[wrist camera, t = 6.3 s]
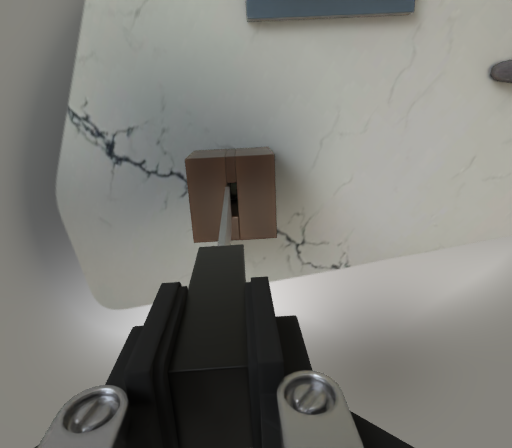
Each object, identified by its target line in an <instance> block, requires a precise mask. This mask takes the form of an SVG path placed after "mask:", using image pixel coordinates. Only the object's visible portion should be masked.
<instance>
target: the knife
mask: <svg viewBox="0 0 512 448" xmlns="http://www.w3.org/2000/svg"><path fill="white" fill-rule="evenodd" d="M231 226H232V215H231V200H230V187H225V194H224V202H223V209H222V217H221V224H220V232H219V240H218V246H211V247H199V250H198V253H197V257H196V261H195V265H194V269H193V272H192V276H191V280H190V284H189V288H188V294H187V298H186V302H185V306H184V310H183V313H182V317H181V321H180V325H179V329H178V333H177V337H176V340H175V344H174V348H173V352H172V356H171V360H170V363H169V367H168V379H169V386H170V393H171V399H172V406H173V412H174V419H175V426H176V432H177V439H178V445H179V448H253V437H252V420H251V403H250V386H249V369H248V349H247V327H246V306H245V284H244V283H245V282H246V278H245V260H244V245H231Z"/></svg>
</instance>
